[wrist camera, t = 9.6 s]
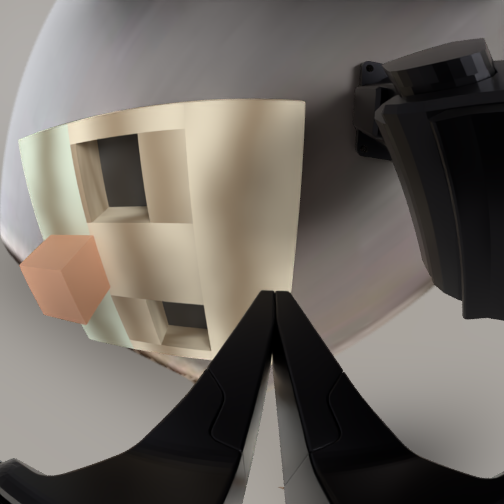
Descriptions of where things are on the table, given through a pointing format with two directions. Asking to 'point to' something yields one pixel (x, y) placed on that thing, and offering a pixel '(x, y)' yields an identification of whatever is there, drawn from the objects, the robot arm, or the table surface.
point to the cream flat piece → (176, 213)
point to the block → (67, 277)
